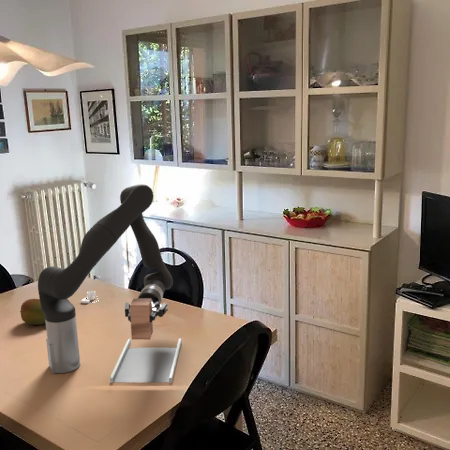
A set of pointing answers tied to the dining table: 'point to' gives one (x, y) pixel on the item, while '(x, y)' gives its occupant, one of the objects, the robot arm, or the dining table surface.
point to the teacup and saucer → (89, 297)
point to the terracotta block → (141, 318)
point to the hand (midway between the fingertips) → (140, 319)
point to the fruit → (32, 312)
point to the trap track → (145, 364)
